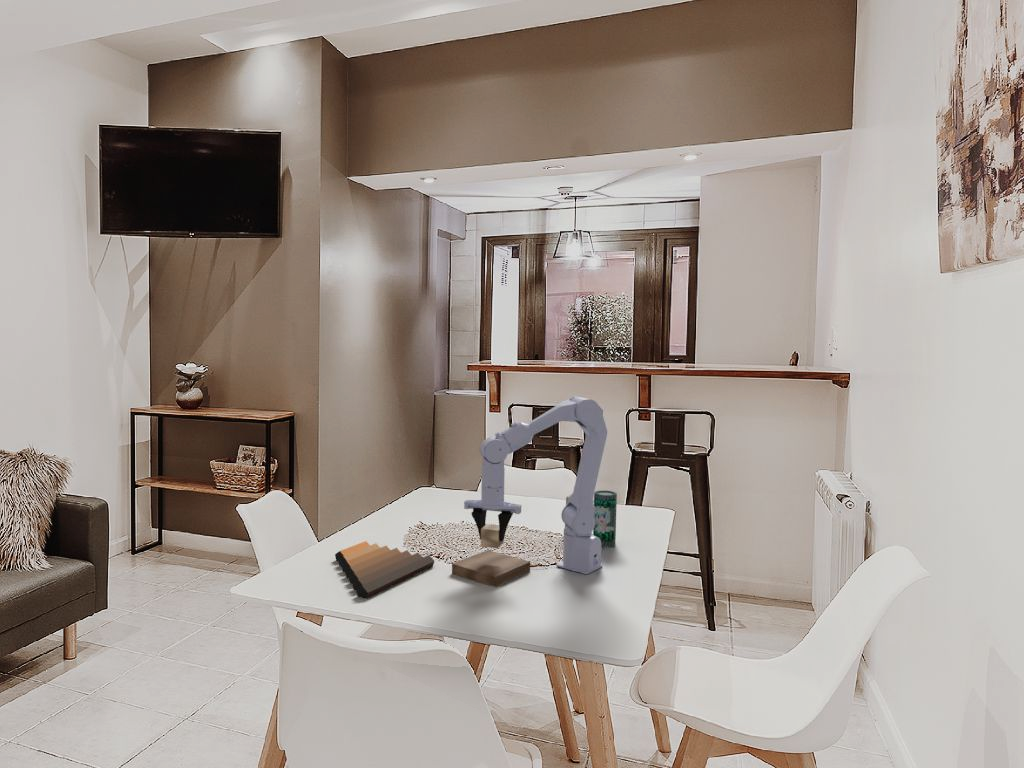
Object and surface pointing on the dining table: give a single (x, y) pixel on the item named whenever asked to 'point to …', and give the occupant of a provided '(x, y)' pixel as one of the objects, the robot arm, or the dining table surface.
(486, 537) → the maple block
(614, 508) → the can
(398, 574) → the pan flute
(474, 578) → the walnut base
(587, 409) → the robot arm
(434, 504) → the dining table surface
